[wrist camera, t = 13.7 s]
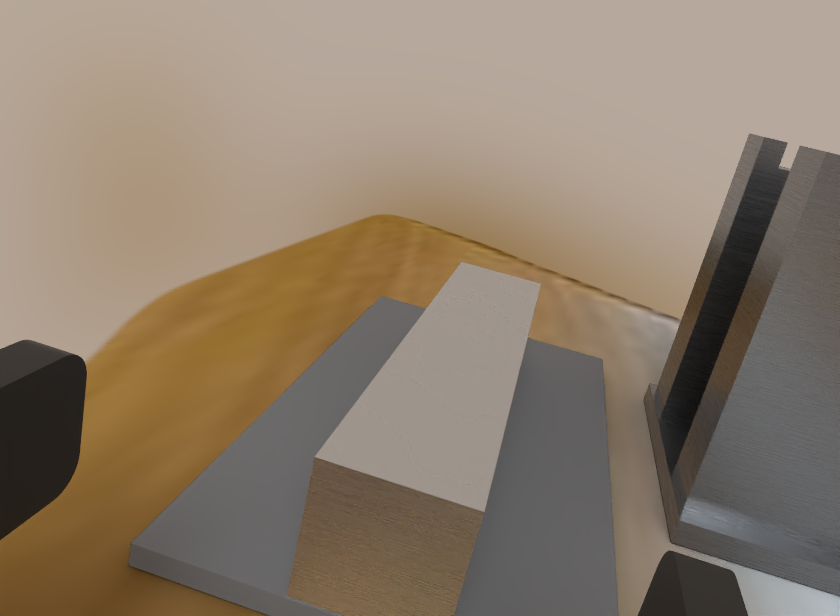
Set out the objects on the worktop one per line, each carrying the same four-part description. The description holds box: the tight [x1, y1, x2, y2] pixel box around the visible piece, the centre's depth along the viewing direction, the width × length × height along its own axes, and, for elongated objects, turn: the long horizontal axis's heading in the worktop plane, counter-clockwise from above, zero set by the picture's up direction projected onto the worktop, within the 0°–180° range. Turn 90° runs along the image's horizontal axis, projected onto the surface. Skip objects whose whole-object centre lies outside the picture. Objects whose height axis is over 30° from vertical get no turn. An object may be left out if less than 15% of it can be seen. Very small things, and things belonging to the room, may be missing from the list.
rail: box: [287, 262, 541, 616], centre depth 23 cm, size 18×4×4 cm, turn 167°
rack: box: [644, 134, 840, 596], centre depth 25 cm, size 11×7×12 cm, turn 167°
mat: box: [128, 296, 618, 616], centre depth 25 cm, size 21×11×1 cm, turn 167°
